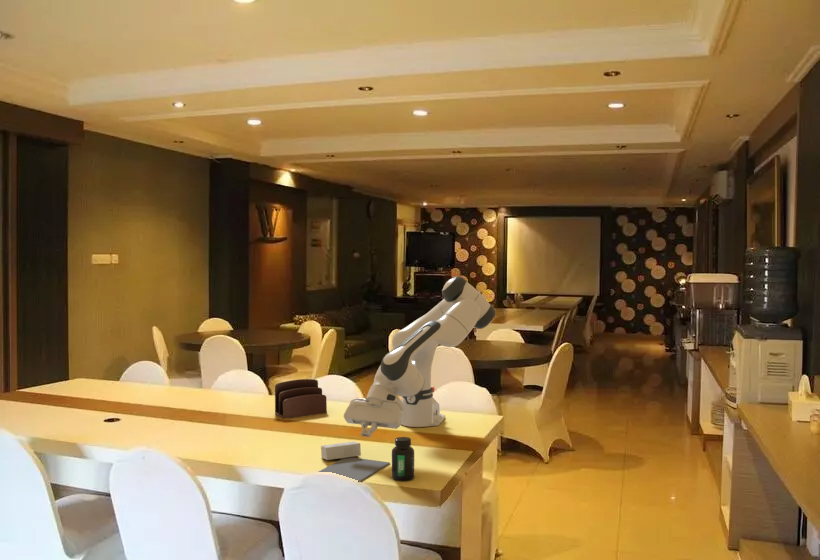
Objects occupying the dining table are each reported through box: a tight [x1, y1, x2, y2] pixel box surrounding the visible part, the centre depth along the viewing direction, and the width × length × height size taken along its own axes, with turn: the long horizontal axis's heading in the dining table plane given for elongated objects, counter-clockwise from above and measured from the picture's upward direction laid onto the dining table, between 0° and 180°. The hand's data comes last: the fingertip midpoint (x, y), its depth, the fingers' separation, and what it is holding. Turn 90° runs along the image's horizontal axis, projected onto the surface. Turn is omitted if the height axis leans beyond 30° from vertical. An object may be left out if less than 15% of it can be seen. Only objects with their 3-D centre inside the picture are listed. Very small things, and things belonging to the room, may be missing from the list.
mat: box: [318, 456, 390, 482], centre depth 220 cm, size 20×16×1 cm
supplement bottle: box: [391, 436, 415, 482], centre depth 212 cm, size 7×7×12 cm
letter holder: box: [274, 378, 328, 420], centre depth 298 cm, size 10×20×14 cm, turn 121°
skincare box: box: [320, 441, 362, 461], centre depth 233 cm, size 6×4×12 cm
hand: (365, 435), depth 229 cm, fingers closed
